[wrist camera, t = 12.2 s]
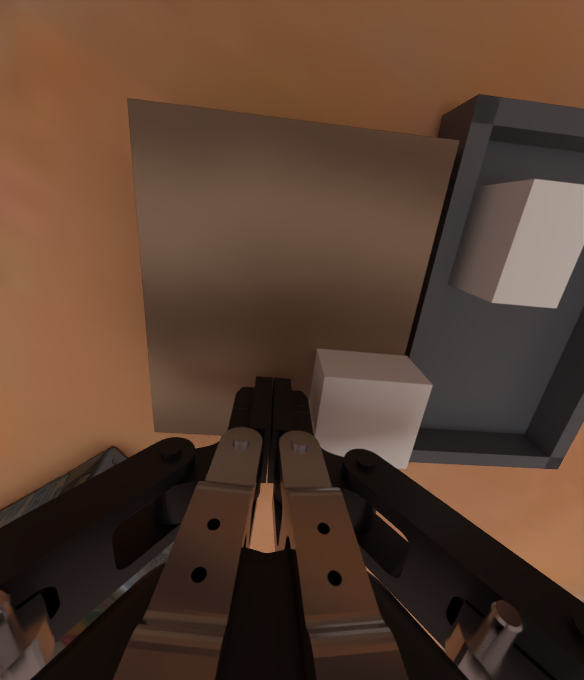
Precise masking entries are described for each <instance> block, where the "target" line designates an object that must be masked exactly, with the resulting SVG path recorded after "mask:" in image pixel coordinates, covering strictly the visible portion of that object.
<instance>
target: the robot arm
mask: <svg viewBox="0 0 584 680" xmlns="http://www.w3.org/2000/svg"><path fill="white" fill-rule="evenodd" d="M272 386H273V391H272ZM268 454H269V455H268ZM267 464H268V480H267V483H274V486H273V499H272V510H273V526H274V541H275V552H272V553H262V552H259V551H256V550H253V549H250V543H251V537H252V530H253V524H254V518H255V512H256V506H257V498H258V496H259V494H260V485H261V483H266V474H267ZM148 503H149V504H148ZM138 510H139V511H138ZM376 510H377V511H378V512H379V513H380V514H381V515H383V516H384V517H385V518H386V519H387V520H388V521H389V522H391V523H392V524H393V525H394V526H395V527H396V528H397V529H399V530H400V531H401V532H402V533H403V534H404V535H405V537H406V538H407V540H408V542H409V543H408V542H407V541H406V540H405V539H404V538H403V537H401V536H400V535H399V534H398V533H397V532H396V531H395V530H394V529H392V528H391V527H390V526H389V525H388V524H387V523H386V522H384V521H383V520H382V519H381V518H380V517H379V516H378V515H376ZM125 519H126V520H125ZM173 542H174V543H173ZM171 543H173V546H172V548H171V551H170V553H169V556H168V558H167V561H166V562H164V563H162V564H160V565H159V566H157V567H155V568H154V569H152V570H151V571H149V572H148V573H147V574H145V575H144V576H143V577H141V578H140V579H139V580H138V581H137V582H136V583H134V584H133V585H132V586H131V587H130V588H129V589H128V590H127V591H126V592H125V593H124V594H123V595H121V596H120V597H119V598H118V599H117V600H116V601H115V602H114V603H113V604H112V605H111V606H109V607H108V608H107V609H106V610H105V611H104V612H103V613H102V614H101V615H100V616H99V617H98V618H96V619H95V620H94V621H93V622H92V623H91V624H90V625H89V626H88V627H87V628H86V629H84V630H83V631H82V632H81V633H80V634H79V635H78V636H77V637H76V638H75V639H74V640H73V641H71V642H70V643H69V644H68V645H67V646H66V647H65V648H64V649H63V650H62V651H61V652H59V653H58V654H57V655H56V656H55V657H54V658H53V659H52V660H51V661H50V662H49V660H50V657H51V655H52V652H53V649H54V644H55V642H56V641H58V640H59V639H60V638H61V637H62V636H64V635H65V634H66V633H67V632H68V631H69V630H71V629H72V628H73V627H74V626H75V625H76V624H78V623H79V622H80V621H81V620H82V619H83V618H85V617H86V616H87V615H88V614H89V613H90V612H92V611H93V610H94V609H95V608H96V607H98V606H99V605H100V604H101V603H102V602H103V601H105V600H106V599H107V598H108V597H109V596H110V595H112V594H113V593H114V592H115V591H116V590H117V589H119V588H120V587H121V586H122V585H123V584H124V583H126V582H127V581H128V580H129V579H130V578H132V577H133V576H134V575H135V574H136V573H137V572H139V571H140V570H141V569H142V568H143V567H144V566H146V565H147V564H148V563H149V562H150V561H151V560H153V559H154V558H155V557H156V556H157V555H159V554H160V553H161V552H162V551H163V550H164V549H166V548H167V547H168V546H169V545H170V544H171ZM365 566H366V567H367V568H368V569H369V570H370V571H371V572H372V573H373V574H374V575H375V576H376V577H377V578H378V579H376V578H375V577H374V576H373V575H372V574H370V573H369V572H367V570H366V567H365ZM389 591H390V592H391V593H392V594H393V595H394V596H395V597H396V598H397V599H398V600H399V601H400V602H401V604H402V605H403V606H404V607H405V608H406V609H407V610H408V611H409V612H410V613H411V614H412V615H413V616H414V617H415V618H416V619H417V620H418V621H419V622H420V623H421V624H422V625H423V627H424V628H425V629H426V630H427V631H428V632H429V633H430V634H431V635H432V636H433V637H434V638H435V639H436V640H437V641H438V642H439V643H440V644H441V645H442V646H443V647H444V648H445V650H446V653H445V652H444V651H443V650H442V649H441V648H440V647H439V646H438V645H437V644H436V642H435V641H434V640H433V639H432V638H431V637H430V636H429V635H428V634H427V632H426V631H425V630H424V629H423V628H422V627H421V626H420V625H419V624H418V623H417V621H416V620H415V619H414V618H413V617H412V616H411V615H410V614H409V613H408V611H407V610H406V609H405V608H404V607H403V606H402V605H401V604H400V603H399V602H398V600H397V599H396V598H395V597H394V596H393V595H392V594H391V593H390V592H389ZM48 662H49V663H48ZM47 663H48V664H47ZM0 680H584V603H583V602H581V601H580V600H579V599H577V598H576V597H575V596H573V595H572V594H570V593H569V592H568V591H566V590H565V589H563V588H562V587H561V586H559V585H558V584H556V583H555V582H554V581H552V580H551V579H550V578H548V577H547V576H545V575H544V574H543V573H541V572H540V571H538V570H537V569H536V568H534V567H533V566H531V565H530V564H529V563H527V562H526V561H525V560H523V559H522V558H520V557H519V556H518V555H516V554H515V553H513V552H512V551H511V550H509V549H508V548H506V547H505V546H504V545H502V544H501V543H500V542H498V541H497V540H495V539H494V538H493V537H491V536H490V535H488V534H487V533H486V532H484V531H483V530H481V529H480V528H479V527H477V526H476V525H474V524H473V523H472V522H470V521H469V520H468V519H466V518H465V517H463V516H462V515H461V514H459V513H458V512H456V511H455V510H454V509H452V508H451V507H449V506H448V505H447V504H445V503H444V502H443V501H441V500H440V499H438V498H437V497H436V496H434V495H433V494H431V493H430V492H429V491H427V490H426V489H424V488H423V487H422V486H420V485H419V484H418V483H416V482H415V481H413V480H412V479H411V478H409V477H408V476H406V475H405V474H404V473H402V472H401V471H399V470H398V469H397V468H395V467H394V466H393V465H391V464H390V463H388V462H387V461H386V460H384V459H383V458H381V457H380V456H379V455H377V454H376V453H374V452H372V451H369V450H366V449H352V450H350V451H348V452H347V453H346V454H345V456H344V457H342V456H339V455H335V454H332V453H330V452H328V451H326V450H324V449H323V448H321V447H320V444H319V441H318V440H317V439H316V438H315V437H314V433H313V427H312V421H311V414H310V408H309V402H308V397H307V396H306V395H305V394H304V393H303V392H302V391H297V390H291V379H288V378H275V377H274V381H273V377H261V376H256V381H255V387H242V388H241V389H240V390H239V391H238V392H237V393H236V396H235V400H234V404H233V409H232V413H231V417H230V421H229V426H228V430H227V431H226V432H225V433H224V434H223V435H222V437H221V439H220V441H219V442H217V443H216V444H213V445H210V446H207V447H201V448H196V449H195V447H194V445H193V443H192V442H191V441H189V440H187V439H185V438H179V437H173V438H167V439H164V440H161V441H159V442H157V443H155V444H153V445H151V446H150V447H148V448H146V449H144V450H142V451H140V452H139V453H137V454H135V455H133V456H131V457H129V458H127V459H126V460H124V461H122V462H120V463H118V464H116V465H115V466H113V467H111V468H109V469H107V470H105V471H104V472H102V473H100V474H98V475H96V476H94V477H93V478H91V479H89V480H87V481H85V482H83V483H82V484H80V485H78V486H76V487H74V488H72V489H71V490H69V491H67V492H65V493H63V494H61V495H60V496H58V497H56V498H54V499H52V500H50V501H48V502H47V503H45V504H43V505H41V506H39V507H37V508H36V509H34V510H32V511H30V512H28V513H26V514H25V515H23V516H21V517H19V518H17V519H15V520H14V521H12V522H10V523H8V524H6V525H4V526H3V527H1V528H0Z"/></svg>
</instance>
